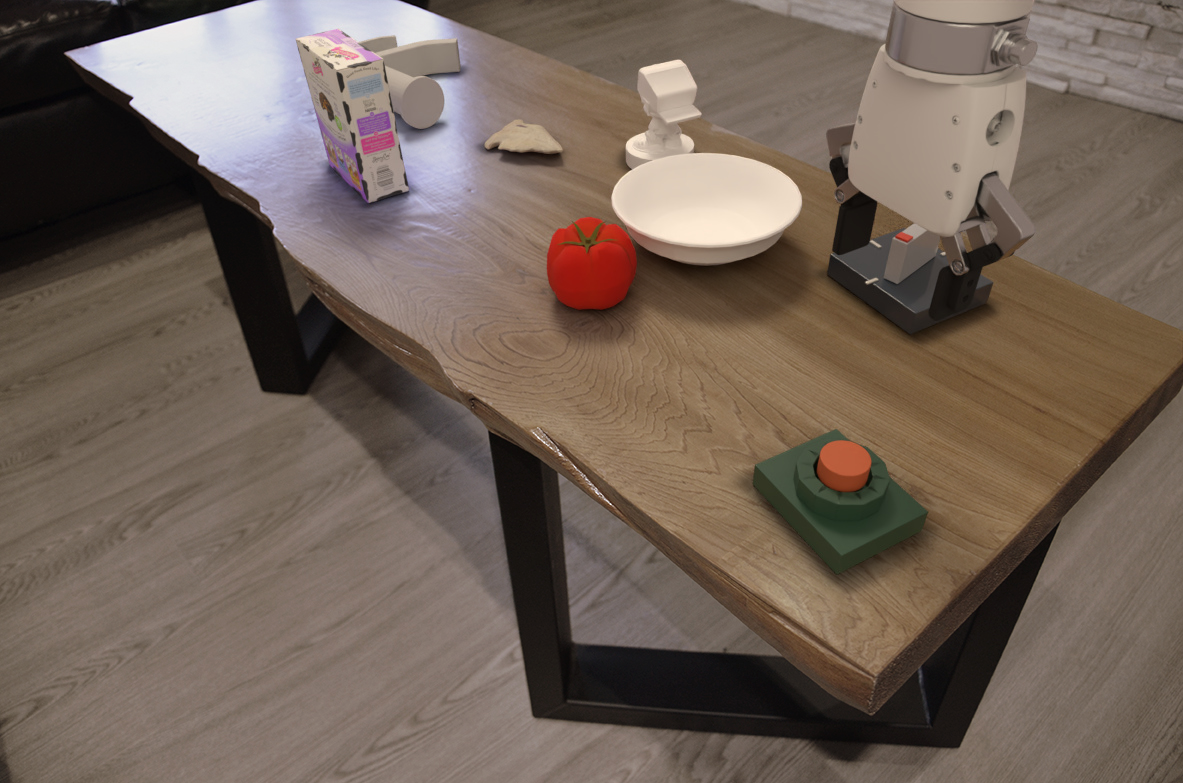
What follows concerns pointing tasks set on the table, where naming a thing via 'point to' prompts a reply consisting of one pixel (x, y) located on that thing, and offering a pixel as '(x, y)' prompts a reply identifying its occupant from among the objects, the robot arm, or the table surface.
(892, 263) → the grey block
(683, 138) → the character figurine
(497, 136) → the decorative stone
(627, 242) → the tomato
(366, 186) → the candy box
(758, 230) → the bowl
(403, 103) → the faucet
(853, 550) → the green button base
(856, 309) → the table surface
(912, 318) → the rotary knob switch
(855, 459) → the button
